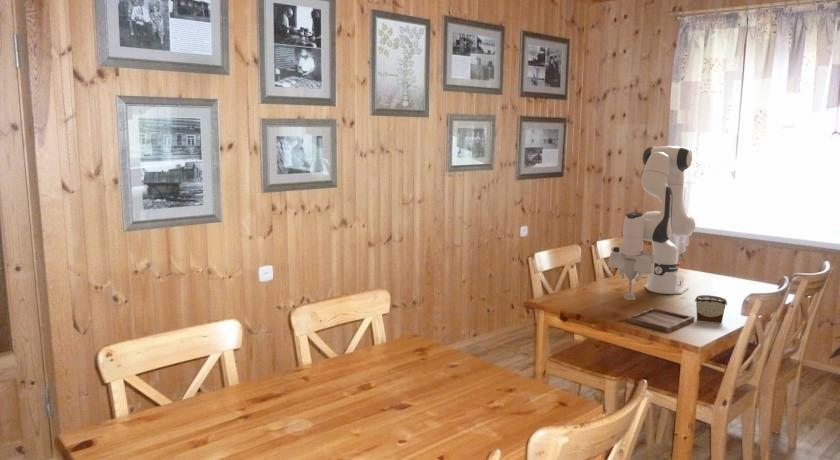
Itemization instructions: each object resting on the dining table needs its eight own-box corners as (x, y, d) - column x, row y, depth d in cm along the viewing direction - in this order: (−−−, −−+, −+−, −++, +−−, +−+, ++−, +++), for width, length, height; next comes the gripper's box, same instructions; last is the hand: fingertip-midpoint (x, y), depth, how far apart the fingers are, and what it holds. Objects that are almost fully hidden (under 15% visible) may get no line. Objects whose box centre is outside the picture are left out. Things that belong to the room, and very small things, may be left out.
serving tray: (652, 312, 272) (653, 307, 271) (693, 321, 259) (694, 317, 258) (626, 322, 257) (627, 317, 257) (668, 332, 244) (669, 327, 244)
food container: (723, 319, 262) (725, 296, 260) (725, 323, 256) (727, 300, 255) (691, 316, 266) (693, 293, 264) (693, 320, 260) (694, 297, 259)
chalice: (636, 296, 282) (638, 257, 279) (639, 300, 275) (642, 260, 272) (619, 295, 282) (621, 257, 279) (622, 300, 276) (625, 260, 273)
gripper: (658, 252, 270) (656, 283, 272) (615, 245, 284) (614, 274, 287) (651, 254, 265) (649, 285, 268) (608, 247, 280) (606, 277, 283)
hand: (630, 280), depth 277 cm, fingers closed on chalice, 6 cm apart
